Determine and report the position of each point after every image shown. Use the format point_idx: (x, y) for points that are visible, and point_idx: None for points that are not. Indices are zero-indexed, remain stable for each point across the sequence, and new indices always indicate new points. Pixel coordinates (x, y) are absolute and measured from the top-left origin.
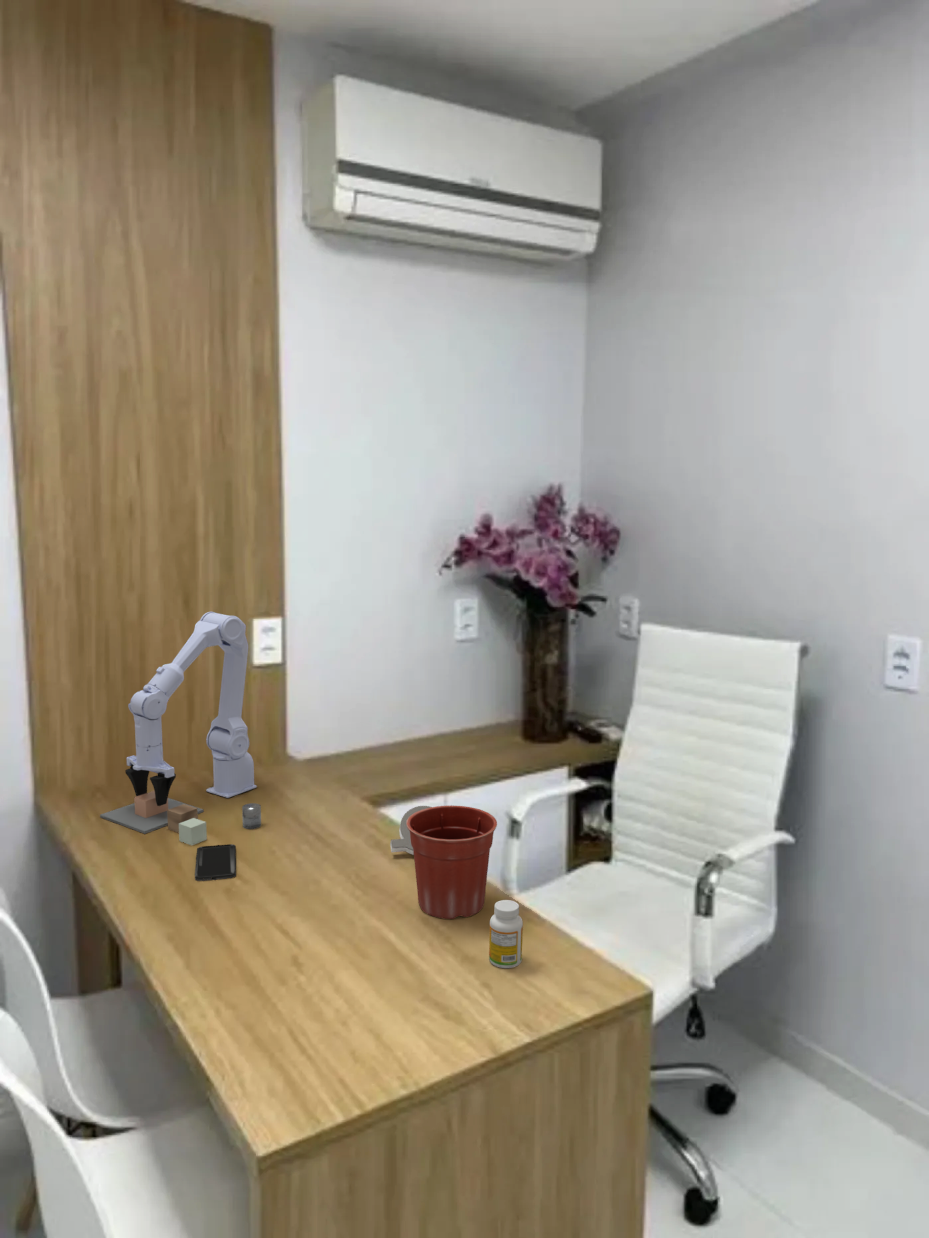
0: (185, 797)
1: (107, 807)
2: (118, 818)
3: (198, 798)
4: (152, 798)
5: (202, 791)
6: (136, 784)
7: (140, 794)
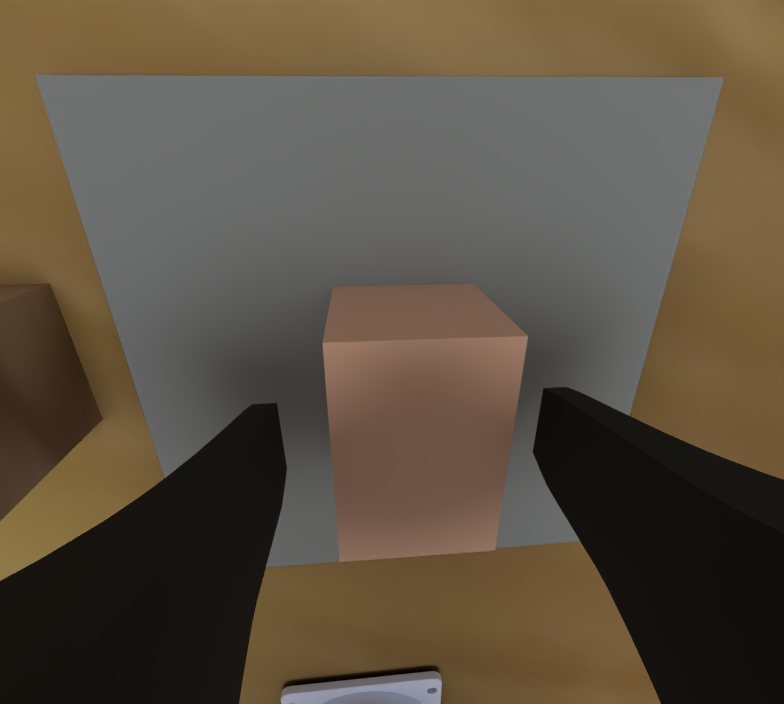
0: (463, 594)
1: (775, 258)
2: (509, 128)
3: (398, 620)
4: (333, 428)
5: (457, 660)
6: (649, 478)
7: (557, 427)
